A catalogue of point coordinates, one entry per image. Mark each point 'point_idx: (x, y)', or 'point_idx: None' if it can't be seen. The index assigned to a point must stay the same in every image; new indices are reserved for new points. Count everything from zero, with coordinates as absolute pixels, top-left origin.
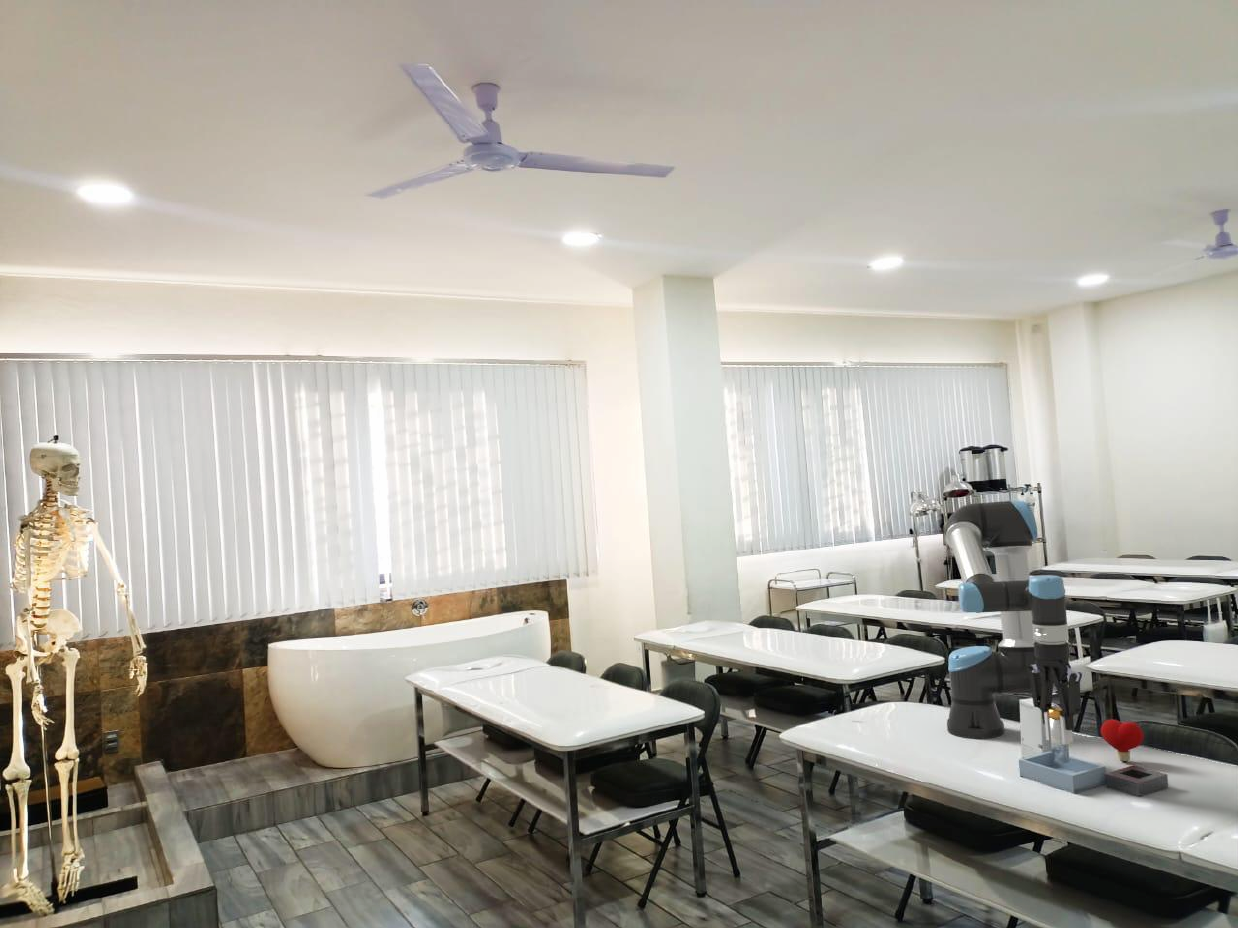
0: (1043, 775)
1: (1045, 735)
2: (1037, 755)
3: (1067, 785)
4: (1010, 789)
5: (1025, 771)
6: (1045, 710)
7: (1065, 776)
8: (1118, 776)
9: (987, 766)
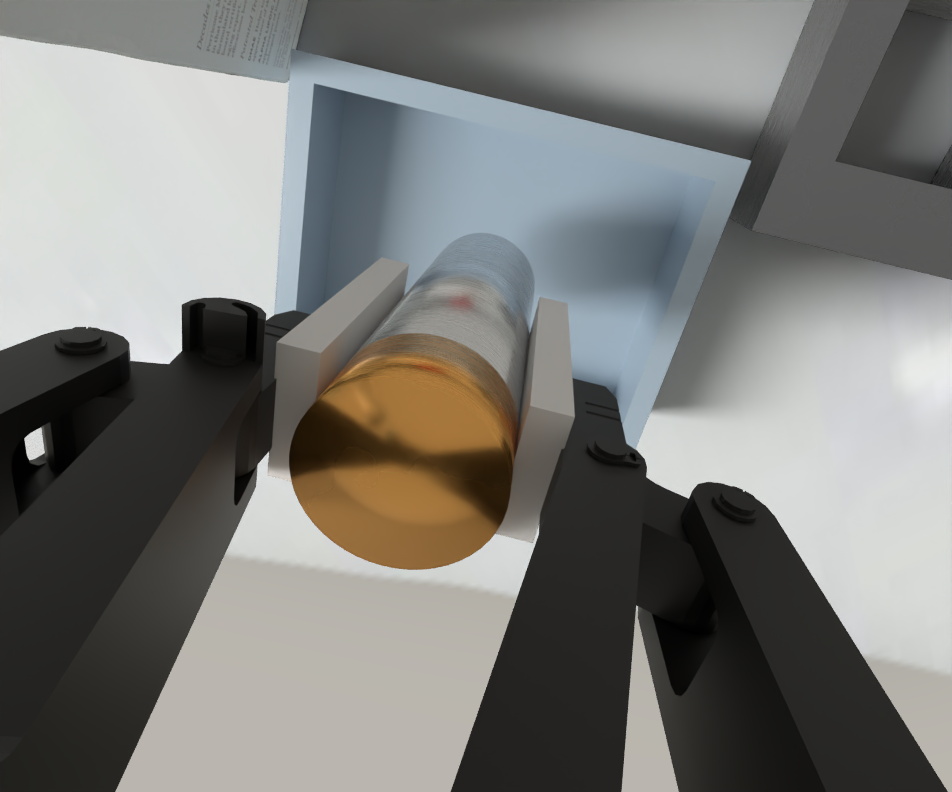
0: None
1: (193, 26)
2: (294, 222)
3: None
4: None
5: None
6: (259, 455)
7: None
8: (844, 231)
9: (109, 290)
